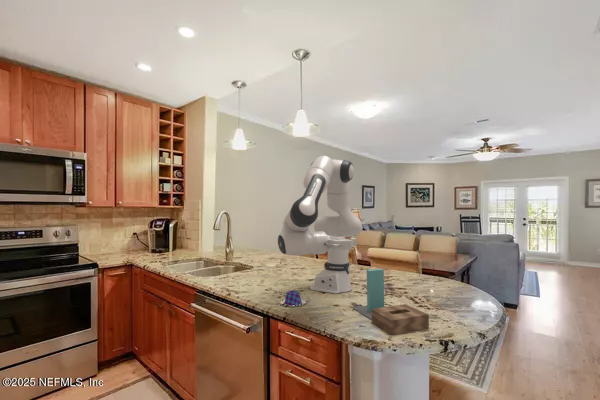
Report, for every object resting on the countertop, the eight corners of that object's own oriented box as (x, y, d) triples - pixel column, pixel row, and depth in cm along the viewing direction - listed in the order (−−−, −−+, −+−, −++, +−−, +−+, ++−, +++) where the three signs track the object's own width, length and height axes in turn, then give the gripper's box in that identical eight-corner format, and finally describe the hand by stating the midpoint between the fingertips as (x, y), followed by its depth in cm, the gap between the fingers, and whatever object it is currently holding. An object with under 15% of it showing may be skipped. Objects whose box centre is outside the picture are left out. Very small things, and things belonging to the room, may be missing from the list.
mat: (371, 320, 112) (371, 319, 112) (352, 308, 125) (352, 307, 125) (400, 315, 117) (400, 314, 117) (380, 304, 130) (380, 303, 130)
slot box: (391, 335, 99) (391, 320, 99) (371, 322, 110) (371, 309, 110) (428, 328, 104) (428, 314, 104) (406, 316, 115) (405, 304, 115)
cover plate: (369, 312, 119) (369, 271, 119) (367, 311, 121) (366, 270, 121) (384, 310, 121) (383, 269, 122) (381, 308, 123) (380, 268, 124)
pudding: (311, 303, 133) (311, 292, 133) (290, 310, 125) (290, 297, 125) (294, 297, 142) (294, 287, 142) (274, 303, 134) (274, 291, 134)
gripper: (331, 237, 104) (364, 236, 108) (309, 232, 123) (338, 231, 128) (331, 254, 103) (364, 252, 108) (309, 247, 123) (338, 246, 127)
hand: (350, 241), depth 118 cm, fingers open, 8 cm apart
